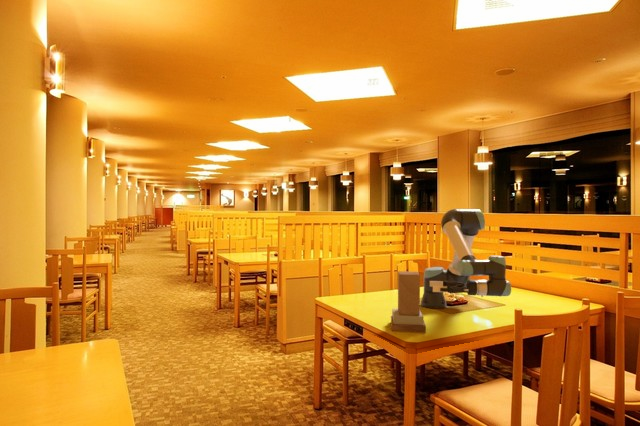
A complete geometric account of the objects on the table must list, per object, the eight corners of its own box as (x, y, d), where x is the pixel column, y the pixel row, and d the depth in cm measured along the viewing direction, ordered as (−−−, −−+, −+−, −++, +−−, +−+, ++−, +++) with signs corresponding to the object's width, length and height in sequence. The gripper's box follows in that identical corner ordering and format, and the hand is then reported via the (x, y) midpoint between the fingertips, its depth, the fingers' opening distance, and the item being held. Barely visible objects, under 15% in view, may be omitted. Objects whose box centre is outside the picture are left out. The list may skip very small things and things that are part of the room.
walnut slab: (391, 323, 212) (391, 315, 212) (422, 324, 209) (422, 317, 209) (391, 332, 196) (391, 324, 196) (425, 334, 193) (425, 325, 193)
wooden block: (419, 315, 197) (420, 274, 196) (398, 314, 198) (399, 274, 198) (417, 310, 207) (418, 271, 206) (397, 309, 208) (398, 271, 208)
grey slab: (392, 316, 211) (392, 308, 211) (419, 317, 209) (419, 309, 209) (393, 323, 197) (393, 315, 197) (423, 325, 195) (423, 316, 195)
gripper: (482, 301, 185) (434, 299, 189) (470, 290, 210) (428, 288, 213) (482, 284, 185) (434, 283, 188) (470, 275, 210) (428, 274, 213)
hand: (431, 286), depth 201 cm, fingers open, 13 cm apart
